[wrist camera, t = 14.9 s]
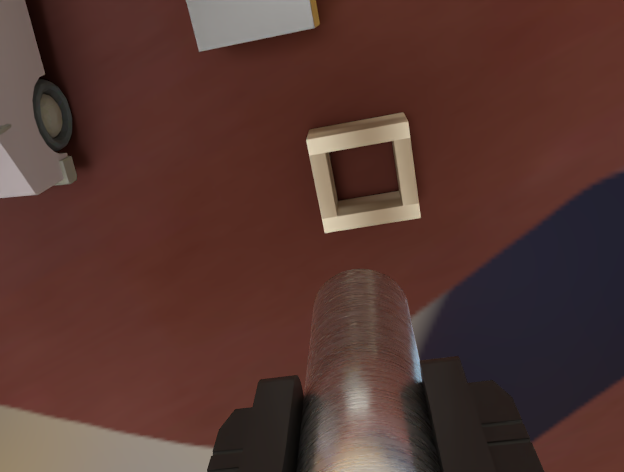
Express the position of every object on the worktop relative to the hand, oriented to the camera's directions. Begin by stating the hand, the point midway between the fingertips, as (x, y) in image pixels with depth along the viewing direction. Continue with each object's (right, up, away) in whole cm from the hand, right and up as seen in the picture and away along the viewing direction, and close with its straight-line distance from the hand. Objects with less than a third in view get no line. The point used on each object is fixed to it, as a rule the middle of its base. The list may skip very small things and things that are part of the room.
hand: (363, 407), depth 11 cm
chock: (-3, +15, +17) cm, 23 cm away
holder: (+2, +7, +20) cm, 21 cm away
